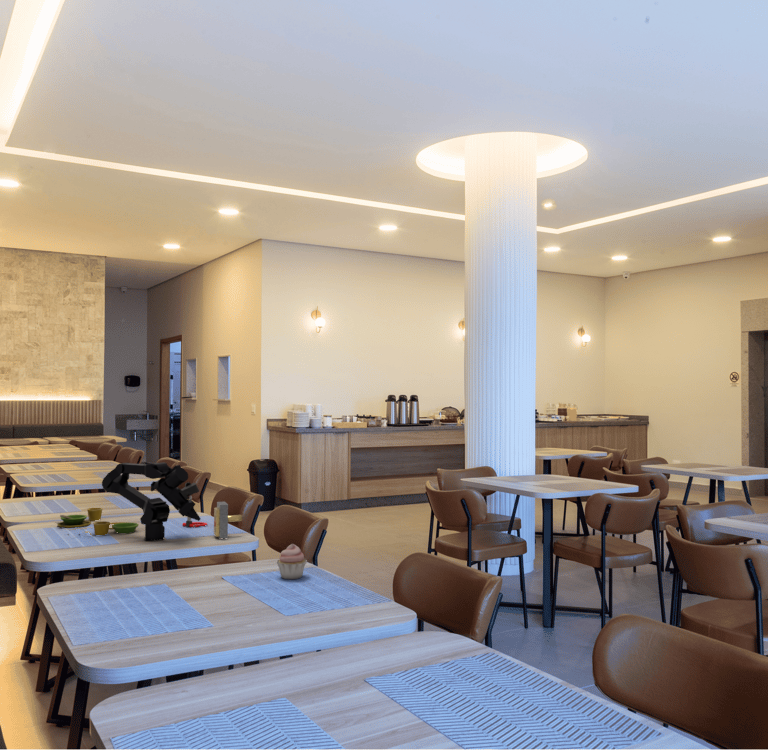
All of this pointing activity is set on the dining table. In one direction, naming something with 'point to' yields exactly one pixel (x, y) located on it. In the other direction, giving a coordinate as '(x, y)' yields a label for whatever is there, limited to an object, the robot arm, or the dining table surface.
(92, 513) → the tableware set
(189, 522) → the tow hook
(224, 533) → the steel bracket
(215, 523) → the brass pin
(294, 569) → the cupcake
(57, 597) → the dining table surface
